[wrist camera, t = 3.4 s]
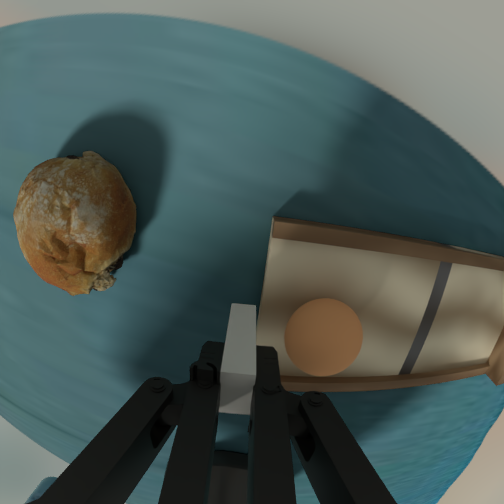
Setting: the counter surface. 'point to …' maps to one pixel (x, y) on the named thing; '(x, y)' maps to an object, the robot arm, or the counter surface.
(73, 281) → the bread roll
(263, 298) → the lane
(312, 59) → the counter surface
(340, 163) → the counter surface
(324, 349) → the ball
